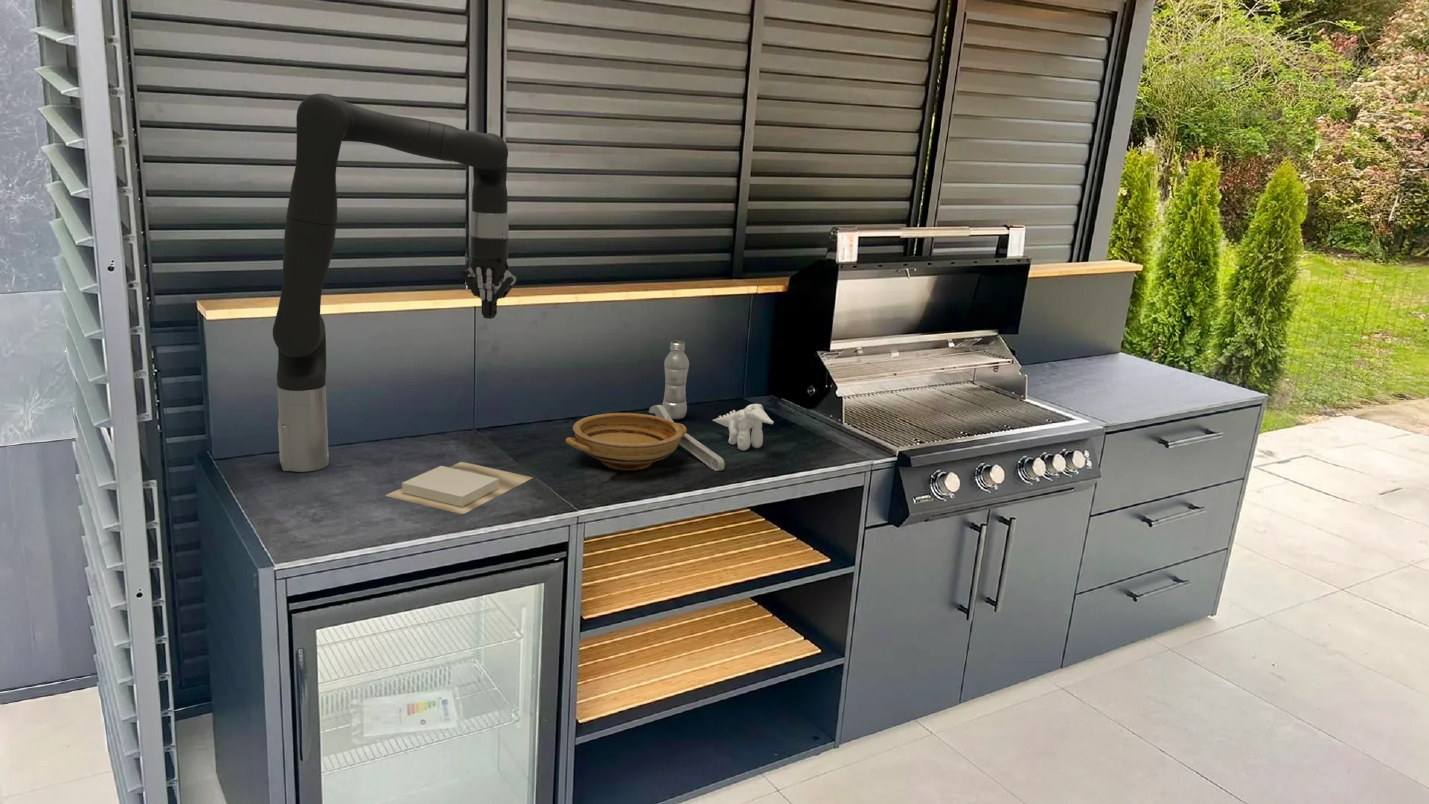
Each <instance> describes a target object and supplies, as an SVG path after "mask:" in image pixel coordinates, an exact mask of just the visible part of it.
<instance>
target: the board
mask: <svg viewBox="0 0 1429 804" xmlns="http://www.w3.org/2000/svg"><path fill="white" fill-rule="evenodd" d="M448 467H449V468H453V469H458V470H463V471H467V472H472V473H476V474H481V475H485V476H490V477H494V478H499V488H498V489H496V490H494V491H492V492H490V493H488V494H487V495H485V496H483V497H481V498H479V499H477V500H475V501H473V502H471V503H469V504H467V505H465V506H463V507H461V506H457V505H453V504H448V503H444V502H440V501H436V500H431V499H427V498H423V497H419V496H414V495H410V494H406V493H402V487H401V488H399V489H396V490H395V491H392V492H390V493H387V494H386V495H384V497H389V498H393V499H396V500H401V501H405V502H408V503H413V504H417V505H421V506H426V507H429V508H434V509H438V510H441V511H442V510H443V511H446V512H449V513H450V512H451V513H454V514H458V515H464V514H466V513H468V512H470V511H472V510H474V509H476V508H478V507H480V506H482V505H484V504H486V503H488V502H489V501H492V500H493V499H495V498H497V497H499V496H501V495H504V494H505V493H507V492H509V491H511V490H513V489H515V488H516V487H518V486H520V485H522V484H524V483H527V482H529V481H530V480H532V479H534V477H533V476H529V475H524V474H519V473H514V472H511V471H506V470H502V469H495V468H491V467H487V466H482V465H478V464H473V463H469V462H464V461H459V462H458V463H455V464H453V465H450V466H448Z"/></svg>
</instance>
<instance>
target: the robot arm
mask: <svg viewBox="0 0 1429 804" xmlns="http://www.w3.org/2000/svg"><path fill="white" fill-rule="evenodd" d="M295 119H296V121H295V122H296V123H295V124H296V126H295V127H296V147H295V148H296V150H295V151H296V152H295V153H296V155H295V157H296V158H295V165H294V167H295V168H294V173H293V178H292V181H291V187H290V192H289V198H288V203H287V210H286V217H285V224H284V225H285V227H284V237H283V238H284V240H283V254H282V256H283V258H282V285H281V286H282V287H281V293H280V297H279V303H278V307H277V311H276V316H275V319H274V323H273V326H272V338H273V341H274V344H275V345H276V348H277V350H278V351H277V355H278V359H277V371H276V382H277V383H276V386H277V404H278V406H277V407H278V419H277V429H278V451H279V463H280V466H281V468H282V471H283V472H295V473H296V472H299V473H302V472H303V473H304V472H305V473H307V472H314V471H318V470H321V469H322V470H323V469H324V468H326V467H327V466H329V454H330V453H329V439H328V437H329V434H328V432H329V431H328V407H327V385H326V384H327V382H326V381H327V380H326V378H327V377H326V375H327V345H326V344H327V335H326V325H325V321H324V319H323V317H322V315H321V303H322V292H323V287H324V283H325V279H326V276H327V273H328V270H329V267H330V263H331V258H332V255H333V251H334V247H335V246H334V245H335V241H336V239H335V238H336V234H337V233H336V232H337V222H338V192H337V167H338V166H337V165H338V160H339V155H340V150H341V145H342V142H352V143H353V142H355V143H356V142H357V143H364V144H365V143H366V144H373V145H377V146H382V147H386V148H390V149H393V150H396V151H400V152H404V153H407V154H409V155H410V154H411V155H414V156H415V155H416V156H418V157H423V158H429V159H432V160H433V159H434V160H440V161H443V162H455V163H459V164H461V165H465V166H469V167H471V168H472V173H473V175H472V177H473V185H472V193H471V210H472V211H471V218H470V256H471V257H472V258H471V261H470V267H468V268H467V269H465V270H462V271H461V273H460V274H461V277H462V278H463V280H464V281H465V283H466V284H467V286H468V288H469V289H470V291H471V293H472V295H473V296H474V297H477V298H480V300H481V315H482V317H483V319H489V320H492V319H494V318H495V317H496V316H497V314H498V312H497V311H498V310H497V309H498V301H499V299H500V300H501V299H505V298H506V297H507V295H508V294H509V292H510V291H511V290H512V288H513V287H514V286H515V285H516V283H517V282H518V281H519V277H518V276H517V275H513V274H512V273H511V272H510V271H509V269H510V268H509V264H508V258H509V218H508V189H507V176H508V175H507V173H508V172H507V171H508V157H509V148H508V145H507V143H506V142H505V139H503V138H502V137H501V136H500V135H498V134H496V133H493V132H492V133H490V132H487V133H484V132H480V131H473V130H468V129H461V128H459V127H456V126H453V125H450V124H445V123H440V122H436V121H430V120H426V119H421V118H414V117H409V116H407V117H406V116H399V115H396V114H395V115H394V114H389V113H384V112H378V111H375V110H371V109H367V108H363V107H361V106H359V105H355V104H353V103H350V102H347V101H345V100H343V99H340V98H338V96H337V97H336V96H335V95H332V94H330V93H321V92H319V93H313V94H310V95H308V96H307V97H305V98H304V99H303V100H302V101H301V103H300V104H299V105H298V108H297V111H296V118H295Z"/></svg>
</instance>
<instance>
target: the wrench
mask: <svg viewBox="0 0 1429 804" xmlns="http://www.w3.org/2000/svg"><path fill="white" fill-rule="evenodd" d="M648 413H649V414H655V415H654V416H656V417H660V418H664V419H667V420H670V421H672V422H674V419H671V417H670V416H669V414H668V412H667V411H666V409H665V408H664V407H663V406H662V404H656V405H652V406H651V407H650V408H649V410H648ZM678 445H679V446H681V447H682V448H684V449H685V450H686V451H688V452H689V454H692V455H693V456H694V457H695V458H697V459H699V461H701V462H702V463H703V464H705V465H706V466H707V467H709V468H710V469H712V470H713V469H714V471H715V472H719V471H724V469H725V466H726V465H725V460H724V459H723V457H721V456H720V455H719V454H717V453H715V452H714V451H712V450H711V449H710V448H708V447H707V446H706V445H704V444H703V443H701V442H699V441H698V440H696V439H695V438H694V437H693V436H692V435H690V434H689V433H687V432H686V434H685V435H684V436H683V437H682V438H680V442H679V444H678Z"/></svg>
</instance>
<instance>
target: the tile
mask: <svg viewBox="0 0 1429 804" xmlns="http://www.w3.org/2000/svg"><path fill="white" fill-rule="evenodd" d="M449 467H450V466H444V465H439V466H437V467H435V468H433V469H430V470H428V471H425V472H423V473H422V474H419V475H417V476H415V477H412V478H409V479H408V480H406V481H402V482H401V488H402V493H406V494H410V495H414V496H419V497H423V498H427V499H431V500H436V501H440V502H444V503H448V504H453V505H457V506H461V507H463V506H465V505H467V504H469V503H471V502H473V501H475V500H477V499H479V498H481V497H483V496H485V495H487V494H488V493H490V492H492V491H494V490H496V489H498V488H499V478H494V477H490V476H485V475H481V474H476V473H472V472H467V471H463V470H458V469H453V468H449Z"/></svg>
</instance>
